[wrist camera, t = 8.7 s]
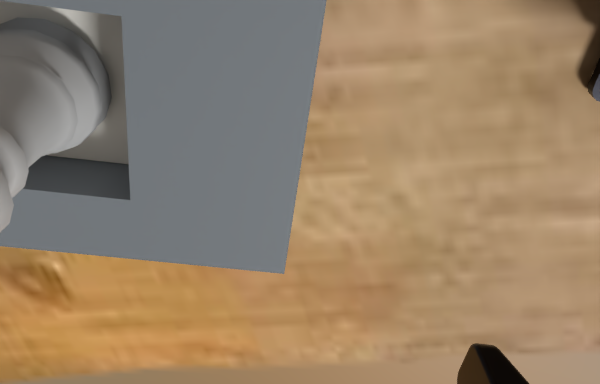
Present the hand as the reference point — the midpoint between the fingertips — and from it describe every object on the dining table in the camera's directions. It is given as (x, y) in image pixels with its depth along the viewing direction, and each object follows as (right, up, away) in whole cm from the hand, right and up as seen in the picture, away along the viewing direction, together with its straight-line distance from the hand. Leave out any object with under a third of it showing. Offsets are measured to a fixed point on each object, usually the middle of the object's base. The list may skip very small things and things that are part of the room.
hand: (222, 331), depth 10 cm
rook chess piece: (-7, +7, +10) cm, 14 cm away
